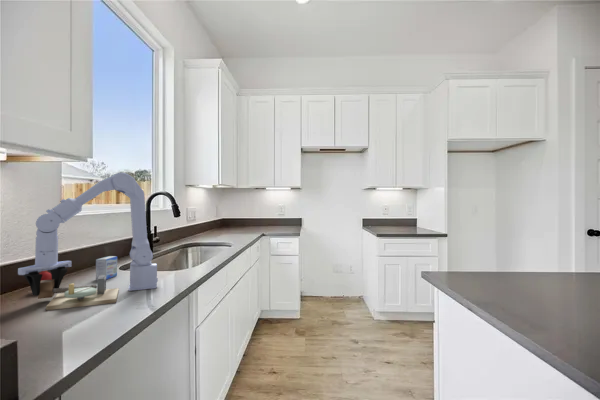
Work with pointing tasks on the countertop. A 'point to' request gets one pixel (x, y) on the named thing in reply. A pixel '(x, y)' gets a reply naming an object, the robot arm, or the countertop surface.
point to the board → (83, 300)
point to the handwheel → (79, 292)
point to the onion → (46, 275)
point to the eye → (101, 284)
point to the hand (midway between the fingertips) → (45, 292)
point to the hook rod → (49, 290)
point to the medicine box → (106, 267)
